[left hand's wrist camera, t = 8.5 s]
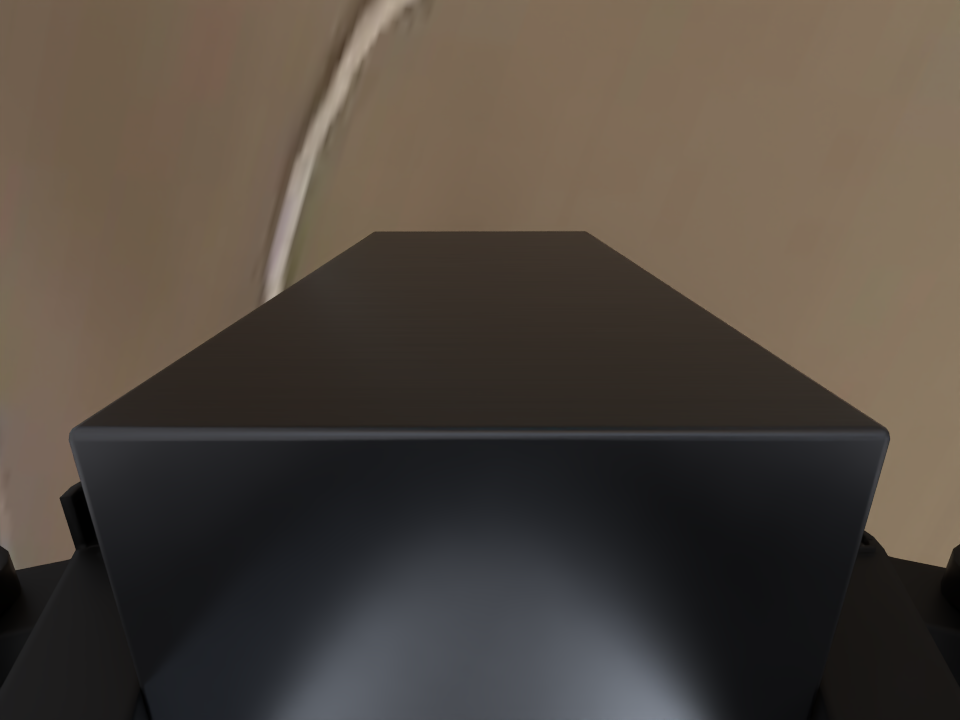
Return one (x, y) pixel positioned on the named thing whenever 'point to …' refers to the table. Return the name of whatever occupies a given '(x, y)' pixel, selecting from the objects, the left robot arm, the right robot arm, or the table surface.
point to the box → (479, 499)
